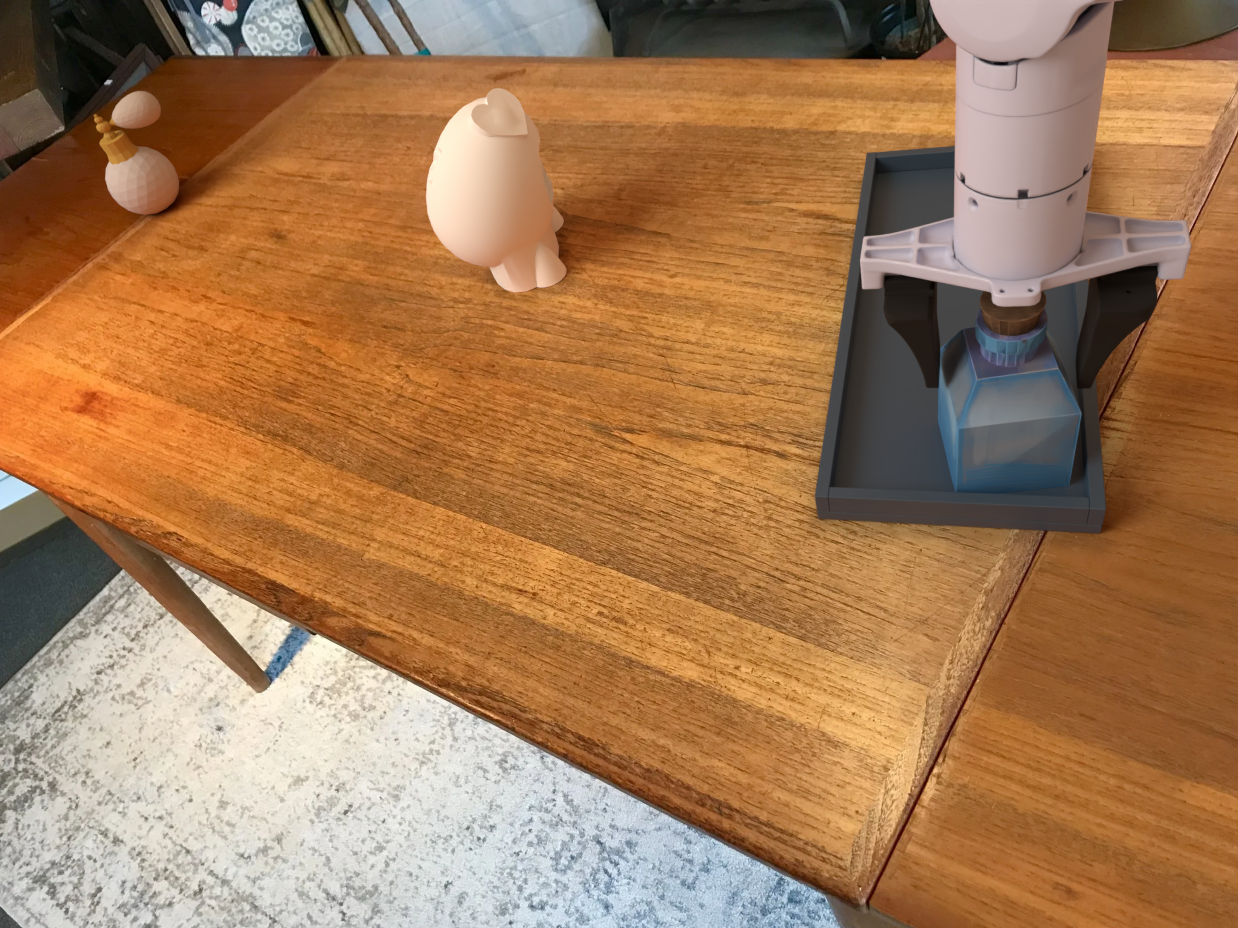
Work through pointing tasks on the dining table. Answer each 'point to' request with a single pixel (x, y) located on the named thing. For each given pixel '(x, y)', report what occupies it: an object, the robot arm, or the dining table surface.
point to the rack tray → (908, 411)
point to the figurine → (496, 194)
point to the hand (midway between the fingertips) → (1006, 375)
